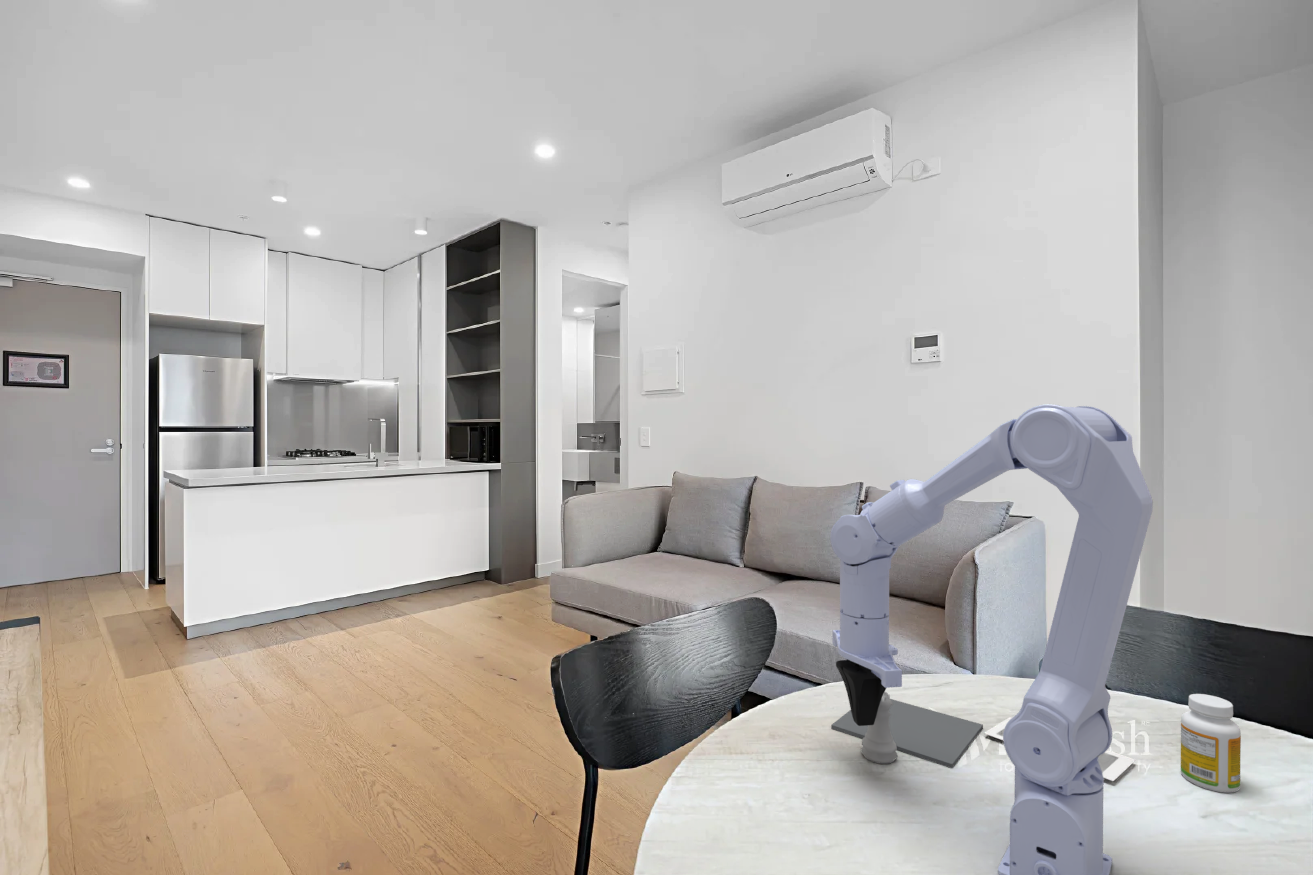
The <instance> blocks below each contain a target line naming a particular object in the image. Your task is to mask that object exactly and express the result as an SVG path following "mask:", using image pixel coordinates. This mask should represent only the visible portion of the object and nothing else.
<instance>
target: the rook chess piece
mask: <svg viewBox="0 0 1313 875" xmlns="http://www.w3.org/2000/svg"><path fill="white" fill-rule="evenodd" d="M890 697H891V695H890V694H889V693H888V692H887V691H885V692H884V694H883V696H882V699H881V701H880V705H879V708H878V712H877V716H876V719H875V722H874V725H868V730H867V733H866V734H865V737H864V738H863V739H862V738H861V739H862V740H861V746H862V747H860V752H861V754H862V755H863V756H864V758H865V759H866V760H868V761H870V762H873V763H875V764H883V765H885V764H891V763H893V762H894V761H895V760H897V758H898V753H897V752H896V751H898V750H897V746H896V743H895V742H894V741H893V737H892V736H891V732H890V726H889V717H890V716H891V714H890V712H889V708H890V707H891V706H892V705H893V702H892V701H891V699H892V698H890Z"/></svg>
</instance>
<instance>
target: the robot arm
mask: <svg viewBox="0 0 1313 875" xmlns="http://www.w3.org/2000/svg"><path fill="white" fill-rule="evenodd" d="M1026 469H1027V470H1029V471H1031V472H1032V473H1034V474H1036V475H1037V476H1039V477H1040V478H1042V479H1043V480H1045V481H1047V482H1048V483H1050V484H1051V485H1053V486H1054V487H1056V488H1057V490H1059V491H1060V493H1061V494H1062V495H1063V496H1064V497H1065V499H1066V501H1068V502H1069V503H1070V505H1071V506H1073V508H1074V510H1075V511H1076V512H1077V514H1078V519H1077V522H1076V527H1075V530H1074V533H1073V538H1072V542H1071V547H1070V551H1069V554H1068V558H1067V562H1066V566H1065V570H1064V573H1063V578H1062V583H1061V586H1060V589H1059V593H1058V598H1057V602H1056V606H1055V610H1054V614H1053V619H1052V621H1051V626H1050V629H1049V630H1050V631H1049V632H1048V633H1049V634H1048V638H1047V642H1046V647H1045V650H1044V654H1043V657H1042V661H1041V666H1040V669H1039V671H1038V674H1037V676H1036V677H1035V678H1034V680H1033V682H1032V683H1031V685H1030V686H1029V688H1028V690H1027V692H1026V693H1025V695H1024V697H1023V699H1022V700H1023V701H1022V703H1021V704H1022V705H1021V707H1020V709H1019V711H1018V712H1017V713H1016V714H1015V715H1014V716H1013V717H1012V719H1010V720H1009V721H1008V723H1007V724H1006V726H1005V729H1004V733H1003V740H1002V741H1003V746H1004V750H1005V752H1006V754H1007V756H1008V758H1009V760H1010V762H1011V763H1012V764H1013V766H1014V802H1013V805H1012V807H1011V810H1010V814H1009V843H1008V846H1007V848H1006V850H1005V853H1004V855H1003V857H1002V859H1001V860H1000V863H999V865H998V867H997V874H998V875H1111V870H1112V866H1113V858H1112V856H1110V855H1109V854H1107V853H1104V786H1105V785H1104V782H1105V781H1104V780H1105V778H1104V777H1103V774H1102V770H1101V768H1100V765H1099V763H1098V757H1097V756H1099V755H1101V754H1103V753H1104V752H1106V750H1109V748H1110V747H1111V745H1112V742H1113V729H1112V725H1111V722H1110V719H1109V704H1110V701H1111V695H1110V693H1109V691H1108V689H1107V688H1106V683H1107V680H1108V677H1109V671H1110V669H1111V664H1112V661H1113V657H1114V653H1115V650H1116V647H1117V646H1116V645H1117V642H1118V640H1119V639H1118V638H1119V636H1120V632H1121V627H1122V624H1123V620H1124V617H1125V613H1126V609H1127V606H1128V602H1129V598H1130V594H1131V590H1132V588H1133V583H1134V580H1135V576H1136V572H1137V569H1138V565H1139V561H1140V557H1141V554H1142V551H1143V550H1142V549H1143V547H1144V542H1145V539H1146V535H1147V532H1148V528H1149V526H1150V525H1149V523H1150V520H1151V517H1152V513H1153V507H1154V506H1153V505H1154V501H1153V500H1154V499H1153V498H1152V495H1151V492H1150V490H1149V488H1148V485H1147V482H1146V479H1145V478H1144V475H1143V472H1142V469H1141V468H1140V465H1139V463H1138V459H1137V457H1136V455H1135V452H1134V449H1133V437H1132V435H1131V433H1129V432H1128V431H1127V430H1126V429H1125V428H1124V427H1123V426H1122V425H1121V424H1120V423H1119V422H1118V421H1117V420H1116V419H1115V418H1114V417H1112V416H1111V415H1110V414H1109V413H1108V412H1106V411H1104V410H1103V409H1101V408H1097V407H1095V406H1090V405H1089V406H1087V405H1085V406H1084V405H1081V406H1079V405H1078V406H1075V407H1074V406H1062V405H1059V404H1054V403H1053V404H1051V403H1049V404H1039V405H1036V406H1032V407H1031V408H1028V409H1027V410H1026V411H1024V412H1023V413H1022V414H1021V415H1019V416H1018V418H1017V419H1016V418H1013V419H1011V420H1007V421H1006V422H1004V423H1001V424H1000V425H999V426H997V427H996V428H995V429H994V430H993V431H992V432H990V433H989V434H988V435H986V436H985V437H984V438H983V439H981V440H979V441H978V442H977V443H976V444H975V445H973V446H972V447H970V448H969V449H968V450H966V451H965V452H963V453H962V454H961V455H959V456H958V457H957V458H955V459H954V460H953V461H951V462H950V463H948V464H947V465H946V466H944V467H943V468H941V469H940V470H939V471H938V472H936V473H935V474H933V475H931V477H930V478H928V479H927V480H925V481H923V480H919V479H915V478H910V479H907V480H905V479H898V480H895V481H894V482H893V483H891V484H890V485H889V487H890V489H891V491H889V492H887V493H885V494H884V495H883V496H882V497H880V498H878V499H877V500H875V501H874V502H873V501H869V502H866V503H864V504H863V505H862V506H861V509H862V510H861V512H860V514H844V515H841V516H840V517H839V519H838V520H836V522H835V523H834V524H833V525H832V528H831V531H830V536H829V537H830V539H829V540H830V545H831V548H832V551H833V553H834V554H835V556H836V557H837V558H838V559H839V629H833V630H832V639H831V640H832V642H831V643H832V645H833V646H834V647H837V653H838V655H839V656H841V657H842V658H844V660H843V659H842V660H841V659H839V660H837V661H836V662H835V666H836V669H837V670H838V672H839V674H840V676H841V679H842V681H843V684H844V687H845V690H846V694H847V699H848V704H849V708H850V710H851V713H852V717H853V720H854V722H855V723H856V724H857V725H858V726H867V725H874V722H875V719H876V716H877V712H878V708H879V705H880V701H881V699H882V696H883V694H884V692H886V690H887V689H889V688H901V687H903V670H902V669H901V668H900V667H898V665H897V662H896V660H895V658H894V656H897V655H898V652H899V650H898V648H897V647H896V646H894V645H893V644H890V570H891V569H892V559H893V557H894V555H895V554H896V553H897V551H898V549H899V548H900V546H902V545H904V544H906V543H907V542H909V541H911V540H912V539H914V538H916V537H917V536H919V535H921V534H923V533H924V532H926V531H927V530H930V529H931V528H932V527H934V526H936V525H938V524H939V523H940V522H941V521H942V520H943V517H944V513H945V506H946V505H948V504H950V503H952V502H953V501H955V500H958V499H959V498H960V497H963V496H965V495H966V494H968V493H970V492H972V491H974V490H975V489H977V488H978V487H981V486H983V485H985V484H986V483H988V482H990V481H991V480H994V479H995V478H997V477H999V476H1001V475H1003V474H1004V473H1006V472H1008V471H1013V470H1026Z"/></svg>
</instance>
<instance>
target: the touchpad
mask: <svg viewBox="0 0 1313 875" xmlns="http://www.w3.org/2000/svg"><path fill="white" fill-rule="evenodd" d="M1012 718H1013V717H1012V716H1009V717H1008V718H1006V719H1004V720H1002V721H1001V722H999V723H997V724H996V725H995V726H992V727H991V728H990V729H987V730H986V731H985V732H983V734H986V735H988V736H990V737H993V738H995V739H998V740H1001V741H1003V733H1004V729H1005V726H1006V724H1007V723H1008V721H1009V720H1010V719H1012ZM1097 757H1098V763H1099V765H1100V768H1101V770H1102V774H1103V777H1104V779H1106V780H1109V781H1112V782H1114V781H1115V780H1116V779H1118V778H1119V777H1120V776H1121V775H1122V774H1123V773H1124V772H1125V771H1126V770H1127V769H1128V768H1129V767H1130V766H1131V765H1132V764H1133V763H1134V762H1136V758H1132V757H1129V756H1127V755H1123V754H1121V753H1117V752H1115V751H1112V750H1109V749H1107V750H1106V752H1104V753H1103V754H1101V755H1099V756H1097Z"/></svg>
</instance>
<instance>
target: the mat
mask: <svg viewBox="0 0 1313 875" xmlns="http://www.w3.org/2000/svg"><path fill="white" fill-rule="evenodd" d="M890 699H891V701H892V702H893V705H892V706H891V707H890V708H889V712H890V714H891V716H890V717H889V726H890V732H891V736H892V737H893V741H894V742H895V743H896V746H897V750H896V751H899V752H902V753H905V754H908V755H911V756H914V757H917V758H920V759H923V760H926V761H929V762H932V763H936V764H938V765H942V766H944V767H947V768H951V769H953V768H954V767H955V765H956V764H957V762H959V760H960V759H961V757H963V755H964V754H965V753H966V751H967V750H968V748H969V747H970V745H971V744H972V743H973V742H974V741H975V739H976V738H977V737H978V735H979V734H980V733H981V731H982V730H983V729H984V724H982V723H979V722H975V721H971V720H968V719H964V718H960V717H958V716H954V715H949V714H946V713H942V712H939V711H936V710H932V709H928V708H925V707H921V706H918V705H914V704H910V703H907V702H903V701H900V700H895V699H892V698H890ZM830 727H831V728H830V729H832V730H834V731H837V732H840V733H844V734H847V735H850V736H853V737H855V738H856V737H857V738H859V739H863V738H864V737H865V734H866V733H867V730H868V725H867V726H858V725H857V724H856V723H855V722H854V720H853V717H852V713H851V709H850V710H849V711H847V712H846V713H845V714H843V715H842V716H841V717H839V718H838V719H837V720H835V721H834V722H833V723H832V724H831V726H830Z"/></svg>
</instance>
